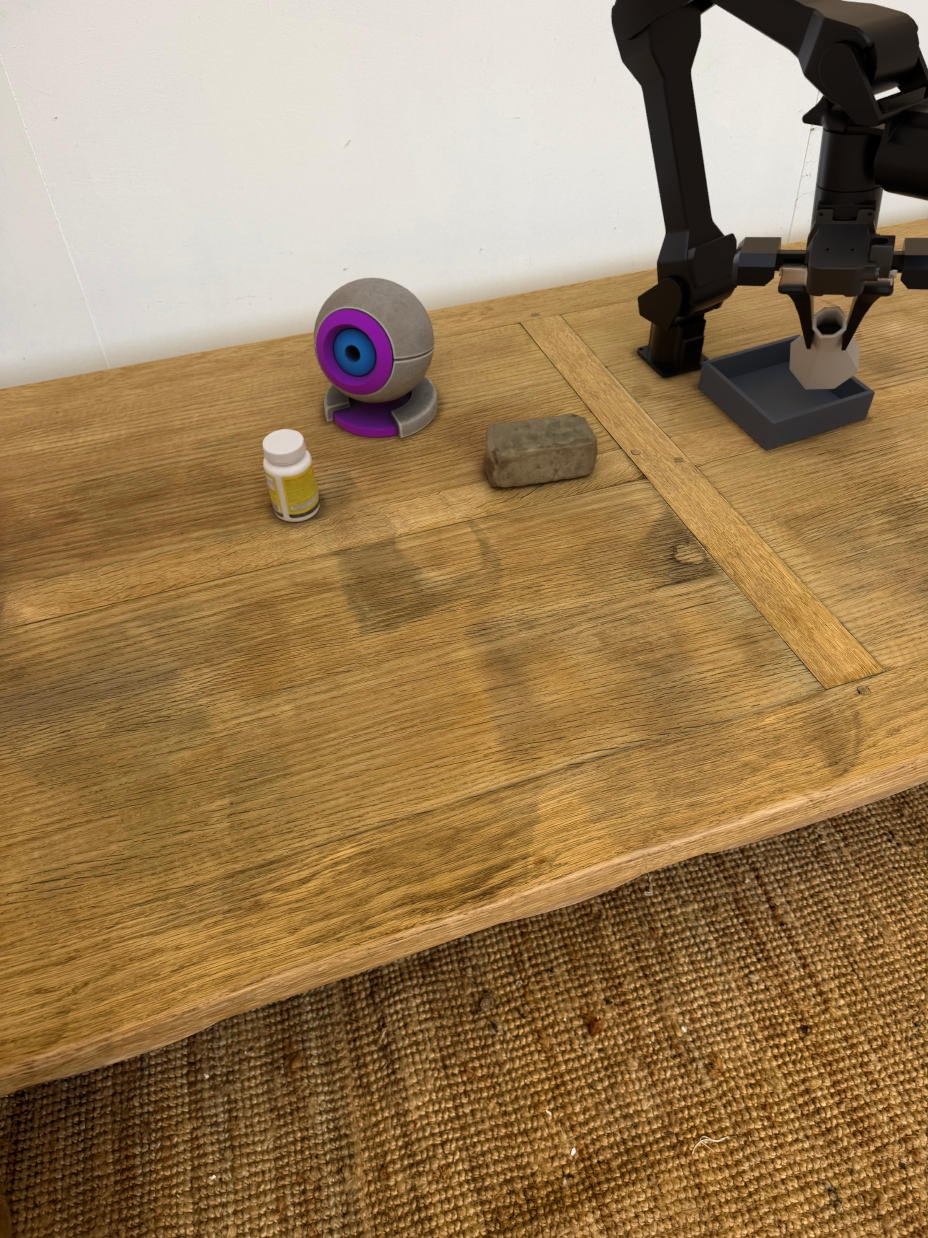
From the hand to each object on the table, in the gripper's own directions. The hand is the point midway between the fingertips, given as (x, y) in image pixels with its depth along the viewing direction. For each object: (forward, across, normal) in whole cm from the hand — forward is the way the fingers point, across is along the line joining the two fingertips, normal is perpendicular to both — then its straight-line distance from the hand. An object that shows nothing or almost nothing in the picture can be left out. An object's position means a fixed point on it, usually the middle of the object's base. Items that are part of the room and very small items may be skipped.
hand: (825, 348), depth 93 cm
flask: (+4, 0, +6) cm, 7 cm away
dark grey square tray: (+10, -4, +7) cm, 13 cm away
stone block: (+9, -27, -12) cm, 31 cm away
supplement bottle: (+8, -48, -26) cm, 55 cm away
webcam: (+6, -47, -7) cm, 48 cm away
